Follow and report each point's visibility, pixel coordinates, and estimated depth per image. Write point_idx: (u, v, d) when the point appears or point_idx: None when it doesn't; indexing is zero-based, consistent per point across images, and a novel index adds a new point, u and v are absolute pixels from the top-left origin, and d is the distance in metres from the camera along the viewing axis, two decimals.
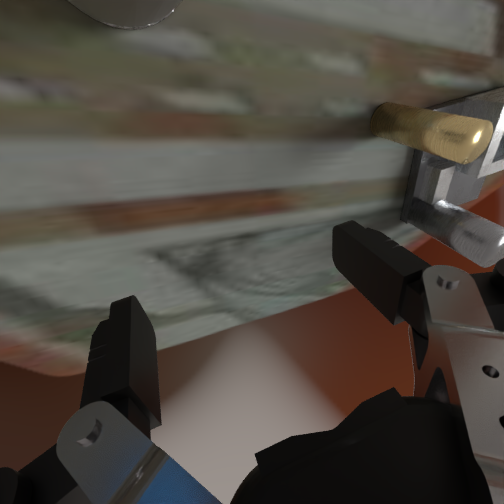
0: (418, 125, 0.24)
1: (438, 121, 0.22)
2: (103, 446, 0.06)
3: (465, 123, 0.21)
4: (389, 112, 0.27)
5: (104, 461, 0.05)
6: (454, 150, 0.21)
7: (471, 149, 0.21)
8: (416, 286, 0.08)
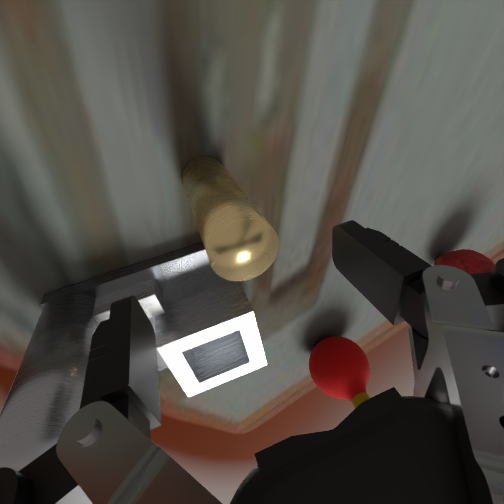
0: (231, 185, 0.15)
1: (249, 200, 0.14)
2: (103, 446, 0.06)
3: None
4: (222, 167, 0.18)
5: (104, 461, 0.05)
6: (231, 220, 0.11)
7: (234, 254, 0.12)
8: (416, 286, 0.08)
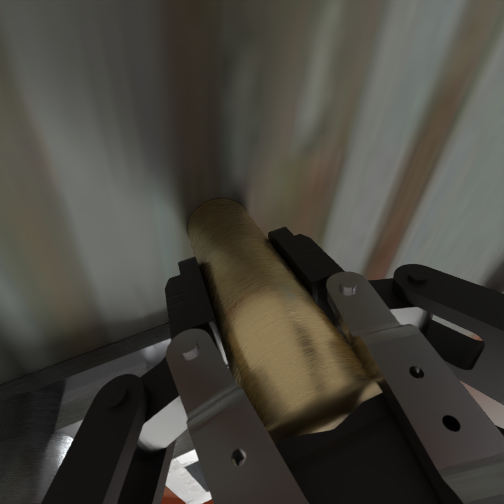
0: (275, 264, 0.09)
1: (311, 298, 0.08)
2: (198, 365, 0.07)
3: None
4: (249, 218, 0.12)
5: (212, 367, 0.07)
6: (305, 384, 0.06)
7: None
8: (325, 291, 0.09)
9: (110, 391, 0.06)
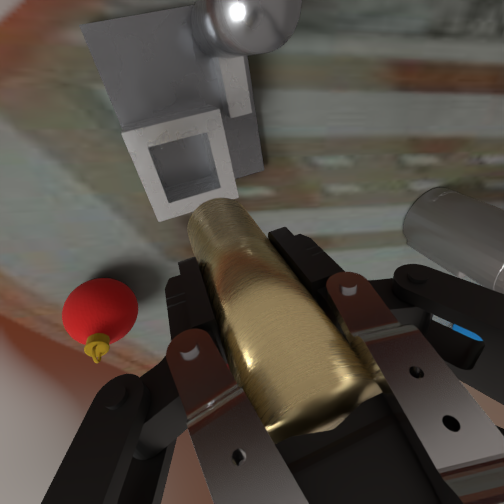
0: (275, 264, 0.09)
1: (311, 298, 0.08)
2: (198, 365, 0.07)
3: None
4: (249, 217, 0.12)
5: (212, 366, 0.07)
6: (305, 384, 0.06)
7: None
8: (325, 291, 0.09)
9: (110, 391, 0.06)
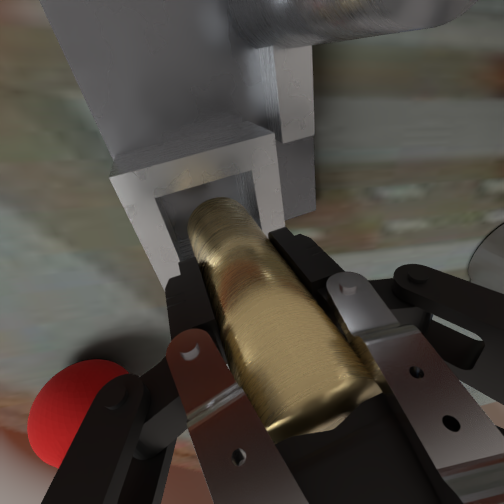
0: (275, 263, 0.09)
1: (311, 297, 0.08)
2: (198, 365, 0.07)
3: None
4: (249, 217, 0.12)
5: (212, 366, 0.07)
6: (305, 382, 0.06)
7: (303, 433, 0.06)
8: (325, 291, 0.09)
9: (110, 391, 0.06)
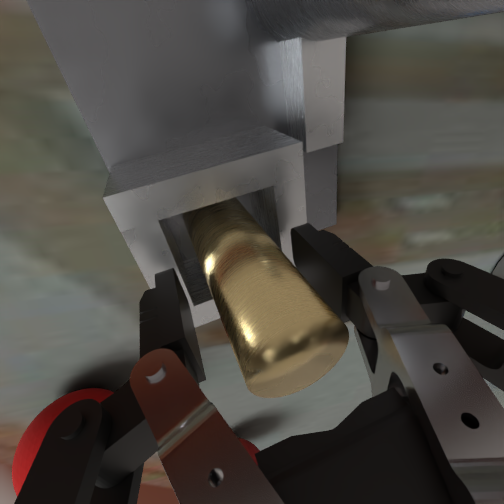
0: (261, 237, 0.10)
1: (291, 264, 0.10)
2: (165, 387, 0.06)
3: None
4: (238, 202, 0.14)
5: (175, 391, 0.06)
6: (283, 319, 0.07)
7: (283, 365, 0.08)
8: (355, 286, 0.09)
9: (65, 420, 0.06)
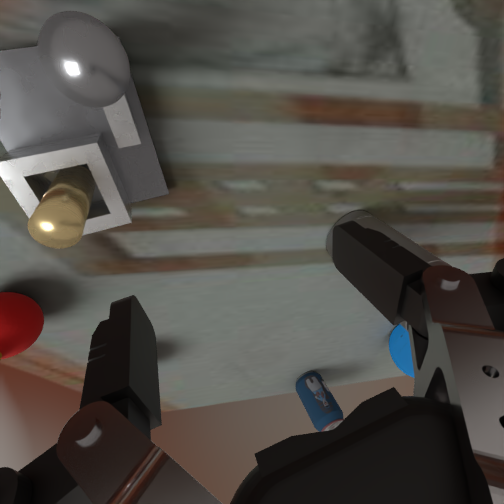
0: (68, 186, 0.22)
1: (75, 197, 0.21)
2: (103, 446, 0.06)
3: (74, 210, 0.20)
4: (82, 173, 0.25)
5: (104, 461, 0.05)
6: (41, 208, 0.19)
7: (48, 229, 0.19)
8: (416, 286, 0.08)
9: None
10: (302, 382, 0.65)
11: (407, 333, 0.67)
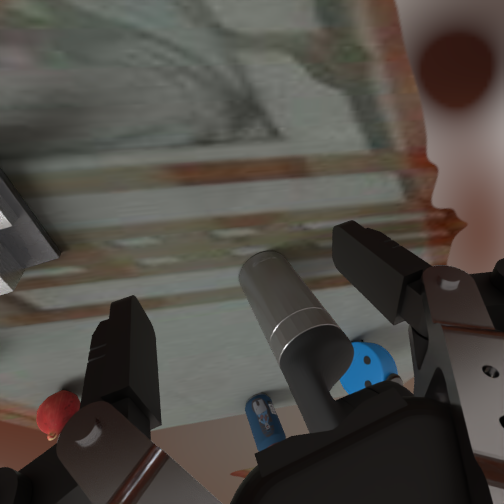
0: None
1: None
2: (103, 446, 0.06)
3: None
4: None
5: (104, 461, 0.05)
6: None
7: None
8: (416, 286, 0.08)
9: None
10: (249, 405, 0.68)
11: None
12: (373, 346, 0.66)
